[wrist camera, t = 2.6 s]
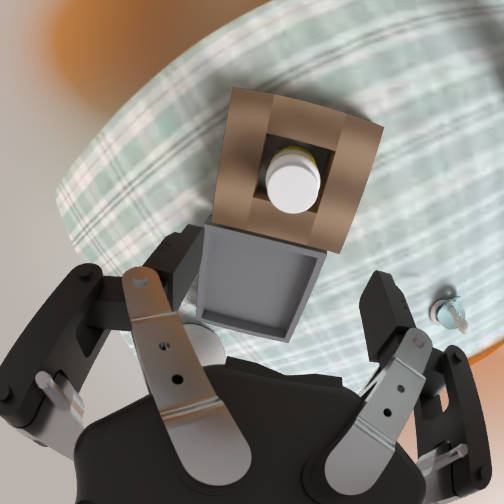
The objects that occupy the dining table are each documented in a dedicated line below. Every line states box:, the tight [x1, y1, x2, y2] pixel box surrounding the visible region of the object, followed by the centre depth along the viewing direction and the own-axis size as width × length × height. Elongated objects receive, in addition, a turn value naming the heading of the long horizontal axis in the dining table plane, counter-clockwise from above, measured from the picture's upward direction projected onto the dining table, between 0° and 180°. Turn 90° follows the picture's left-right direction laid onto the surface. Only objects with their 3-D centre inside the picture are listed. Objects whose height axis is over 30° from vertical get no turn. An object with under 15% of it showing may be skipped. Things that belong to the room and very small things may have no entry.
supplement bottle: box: [266, 145, 320, 213], centre depth 24 cm, size 5×5×8 cm
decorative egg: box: [183, 324, 226, 366], centre depth 39 cm, size 12×12×15 cm
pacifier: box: [430, 296, 468, 334], centre depth 31 cm, size 7×6×6 cm
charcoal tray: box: [196, 215, 327, 343], centre depth 35 cm, size 16×14×2 cm
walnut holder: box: [211, 87, 384, 254], centre depth 26 cm, size 14×14×4 cm
